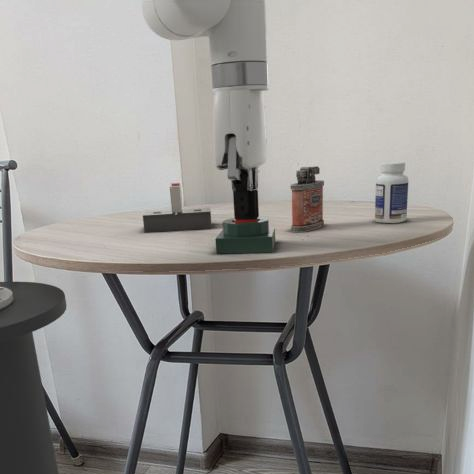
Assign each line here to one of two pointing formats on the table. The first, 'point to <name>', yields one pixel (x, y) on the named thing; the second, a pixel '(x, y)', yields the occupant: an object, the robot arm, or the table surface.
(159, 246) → the table surface
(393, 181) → the pill bottle
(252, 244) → the green button base
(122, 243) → the table surface
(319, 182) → the lighter
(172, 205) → the light grey block
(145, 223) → the panel
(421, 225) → the table surface
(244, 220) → the stop button
